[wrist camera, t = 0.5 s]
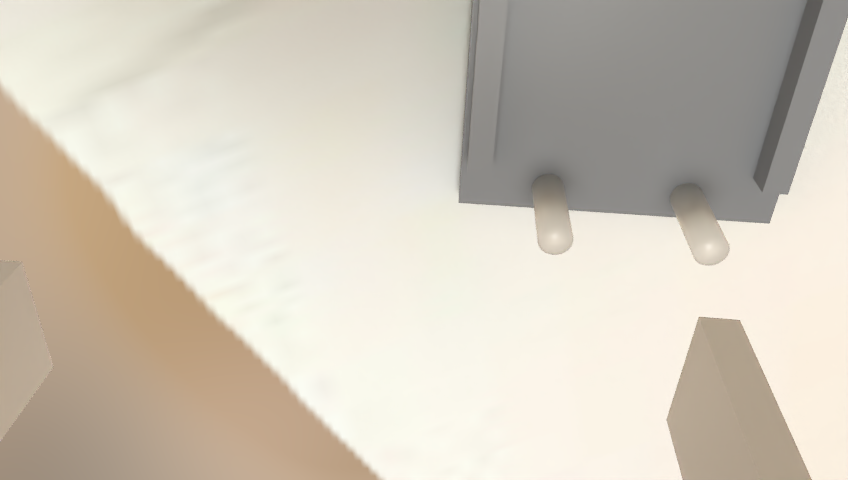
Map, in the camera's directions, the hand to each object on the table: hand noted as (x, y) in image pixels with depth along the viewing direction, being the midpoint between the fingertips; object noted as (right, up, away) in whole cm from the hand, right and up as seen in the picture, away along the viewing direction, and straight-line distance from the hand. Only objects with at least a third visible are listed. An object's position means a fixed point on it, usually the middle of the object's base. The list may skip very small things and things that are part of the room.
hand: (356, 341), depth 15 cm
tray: (+12, +11, +20) cm, 26 cm away
